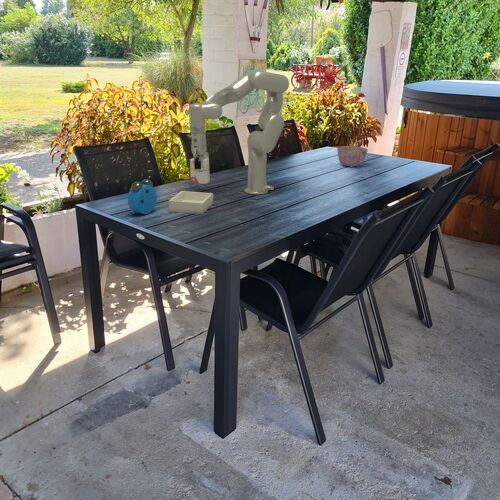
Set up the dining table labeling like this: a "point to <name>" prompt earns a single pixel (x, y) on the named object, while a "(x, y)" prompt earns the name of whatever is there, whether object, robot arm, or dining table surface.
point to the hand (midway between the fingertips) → (199, 167)
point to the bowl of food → (351, 155)
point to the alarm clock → (142, 197)
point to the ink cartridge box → (200, 170)
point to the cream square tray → (191, 202)
